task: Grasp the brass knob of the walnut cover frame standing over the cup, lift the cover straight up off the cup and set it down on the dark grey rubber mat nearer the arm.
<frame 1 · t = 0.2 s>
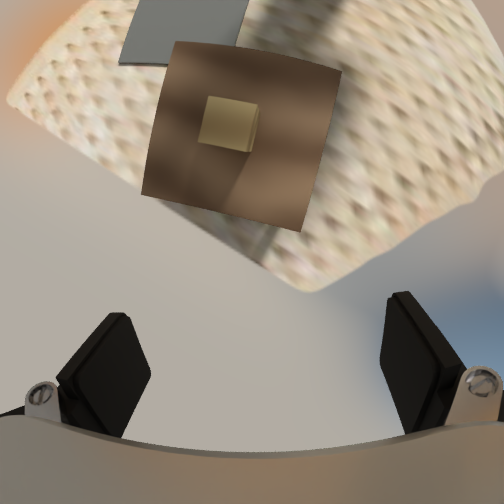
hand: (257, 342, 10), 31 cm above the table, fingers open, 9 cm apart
mat: (185, 15, 30), on the table
cover: (249, 136, 36), on the table
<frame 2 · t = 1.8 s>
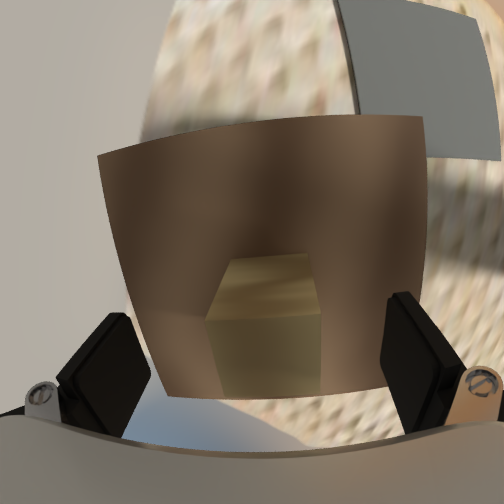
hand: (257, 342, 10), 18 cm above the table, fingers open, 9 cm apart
mat: (432, 74, 20), on the table
cover: (277, 218, 27), on the table
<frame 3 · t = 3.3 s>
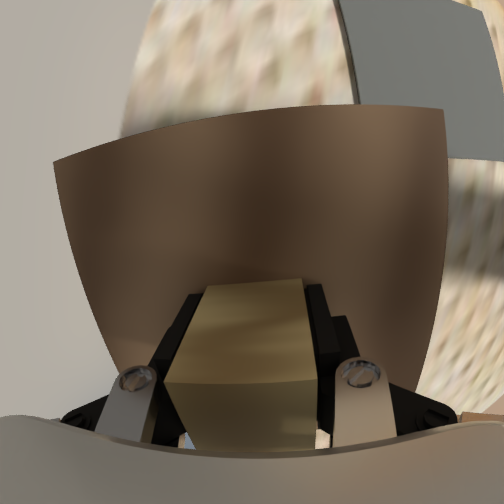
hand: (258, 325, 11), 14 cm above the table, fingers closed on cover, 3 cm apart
mat: (438, 67, 18), on the table
cover: (268, 226, 24), on the table, touching gripper
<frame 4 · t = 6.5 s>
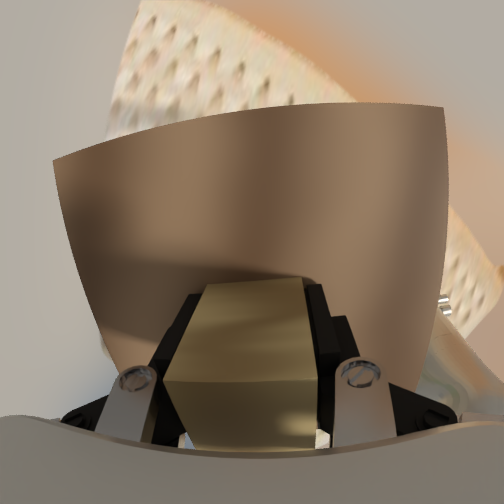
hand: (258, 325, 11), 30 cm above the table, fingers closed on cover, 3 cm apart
cover: (268, 225, 24), point 16 cm above the table, touching gripper
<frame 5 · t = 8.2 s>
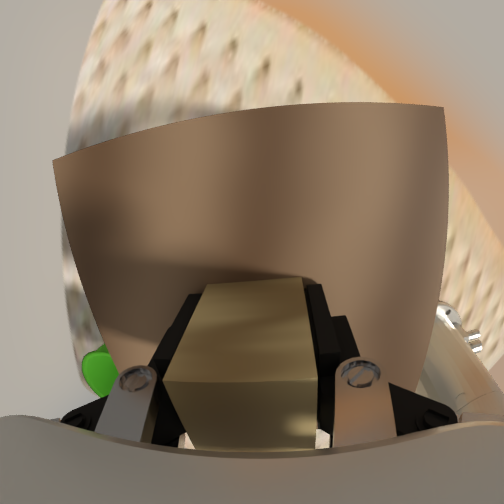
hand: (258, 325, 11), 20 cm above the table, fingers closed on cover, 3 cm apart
cup: (151, 328, 36), on the table
cover: (268, 225, 24), point 6 cm above the table, touching gripper
when the fingers open (16 cm above the table, at t = 9.7 s): cover drops 1 cm, resting on mat.
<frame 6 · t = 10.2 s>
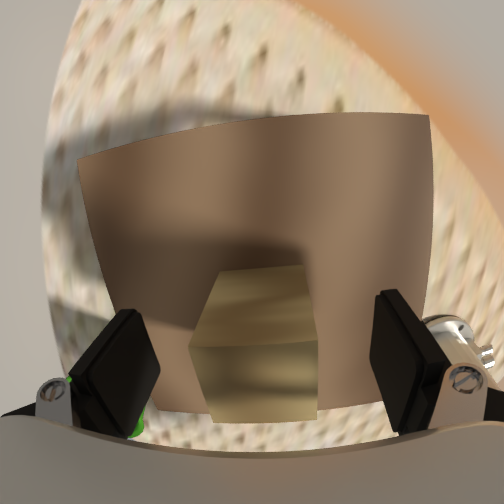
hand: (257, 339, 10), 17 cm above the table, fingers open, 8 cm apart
cover: (270, 222, 26), resting on mat
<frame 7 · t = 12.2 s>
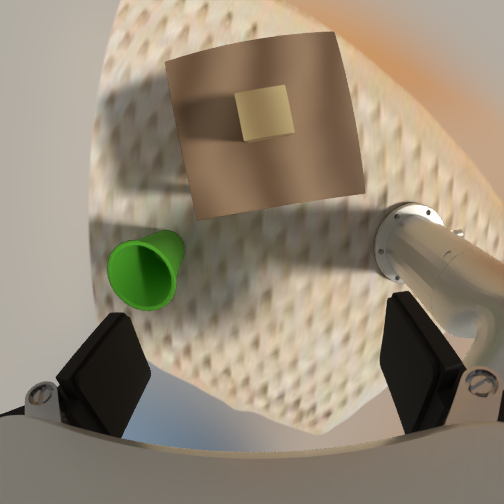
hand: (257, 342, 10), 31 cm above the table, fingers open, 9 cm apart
cup: (168, 246, 43), on the table
cover: (267, 129, 35), resting on mat
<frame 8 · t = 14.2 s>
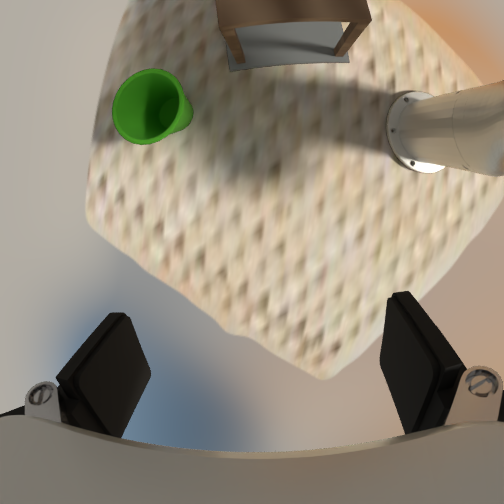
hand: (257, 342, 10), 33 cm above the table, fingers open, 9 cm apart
mat: (281, 16, 31), on the table
cup: (177, 114, 38), on the table
cover: (283, 15, 31), resting on mat
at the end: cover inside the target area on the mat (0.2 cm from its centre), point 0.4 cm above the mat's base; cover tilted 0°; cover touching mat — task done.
